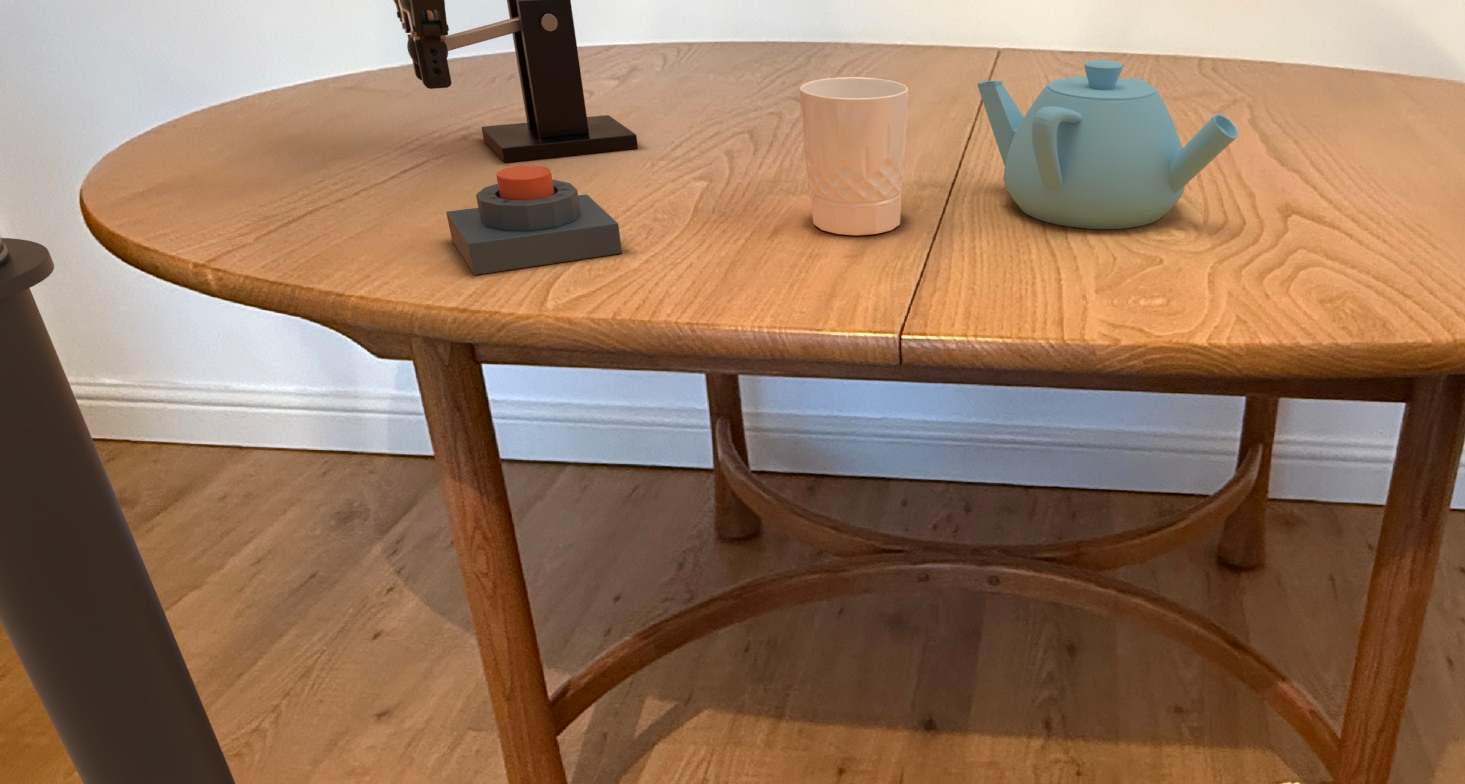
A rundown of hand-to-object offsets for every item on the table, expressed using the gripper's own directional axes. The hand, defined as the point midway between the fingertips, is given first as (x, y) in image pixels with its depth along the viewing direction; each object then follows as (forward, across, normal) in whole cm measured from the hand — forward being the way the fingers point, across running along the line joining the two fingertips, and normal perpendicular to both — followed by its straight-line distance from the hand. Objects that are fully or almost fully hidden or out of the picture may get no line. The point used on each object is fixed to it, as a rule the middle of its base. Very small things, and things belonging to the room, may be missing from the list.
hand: (433, 82), depth 99 cm
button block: (+6, +29, +1) cm, 30 cm away
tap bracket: (+6, 0, +10) cm, 12 cm away
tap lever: (-2, 0, +5) cm, 6 cm away
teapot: (+6, +39, +43) cm, 58 cm away
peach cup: (+6, +34, +24) cm, 42 cm away
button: (+3, +29, +1) cm, 29 cm away
